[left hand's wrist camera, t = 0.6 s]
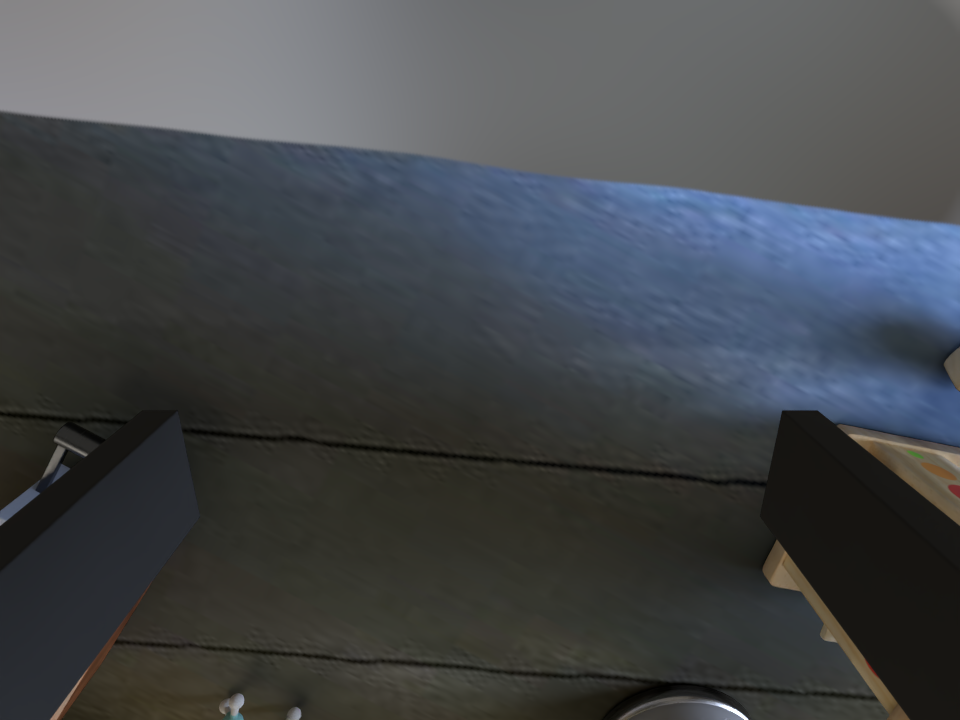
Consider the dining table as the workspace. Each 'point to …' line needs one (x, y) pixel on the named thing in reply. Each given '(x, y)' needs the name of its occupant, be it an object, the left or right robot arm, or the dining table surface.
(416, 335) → the dining table surface
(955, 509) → the pounding bench toy
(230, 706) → the molecular model
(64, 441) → the drawer
